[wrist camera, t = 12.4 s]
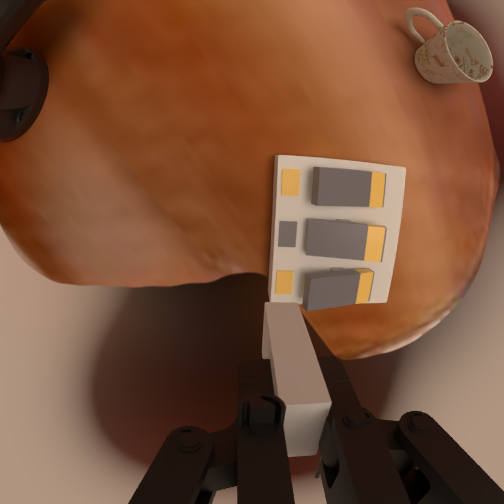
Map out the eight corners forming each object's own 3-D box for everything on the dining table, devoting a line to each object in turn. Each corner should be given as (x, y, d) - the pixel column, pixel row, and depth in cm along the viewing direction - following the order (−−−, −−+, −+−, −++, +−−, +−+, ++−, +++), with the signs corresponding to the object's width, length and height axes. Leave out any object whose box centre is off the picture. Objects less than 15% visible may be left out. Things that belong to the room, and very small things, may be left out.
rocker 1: (311, 203, 33) (317, 206, 31) (313, 166, 32) (319, 167, 30) (376, 205, 35) (383, 207, 34) (379, 172, 34) (386, 173, 33)
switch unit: (268, 290, 43) (271, 307, 38) (274, 155, 37) (279, 154, 33) (375, 290, 43) (389, 305, 39) (392, 166, 38) (409, 168, 33)
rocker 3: (301, 306, 36) (307, 311, 35) (305, 274, 35) (310, 278, 34) (363, 296, 39) (369, 301, 38) (368, 267, 38) (374, 271, 36)
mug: (435, 102, 35) (477, 94, 26) (375, 36, 32) (408, 11, 23) (459, 72, 33) (500, 61, 24) (404, 10, 31) (437, -15, 21)
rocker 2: (305, 251, 37) (305, 255, 35) (308, 218, 35) (308, 220, 34) (379, 258, 35) (382, 262, 34) (384, 225, 34) (387, 228, 33)
